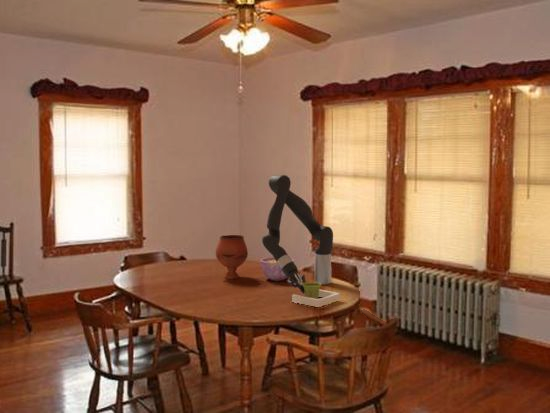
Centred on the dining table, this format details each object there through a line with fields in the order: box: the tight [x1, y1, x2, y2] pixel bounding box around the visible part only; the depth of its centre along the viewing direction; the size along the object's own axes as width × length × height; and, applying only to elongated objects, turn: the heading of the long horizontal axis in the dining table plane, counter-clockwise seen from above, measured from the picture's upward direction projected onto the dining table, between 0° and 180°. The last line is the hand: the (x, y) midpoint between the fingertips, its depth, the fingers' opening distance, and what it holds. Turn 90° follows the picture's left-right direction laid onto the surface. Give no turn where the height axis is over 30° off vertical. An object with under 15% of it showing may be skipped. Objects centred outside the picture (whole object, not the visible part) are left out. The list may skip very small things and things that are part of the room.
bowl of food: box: [260, 256, 295, 282], centre depth 335 cm, size 20×20×12 cm
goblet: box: [215, 234, 249, 280], centre depth 339 cm, size 19×19×25 cm
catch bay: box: [291, 288, 340, 308], centre depth 285 cm, size 18×16×4 cm
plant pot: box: [303, 281, 322, 299], centre depth 286 cm, size 9×9×9 cm
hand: (305, 292), depth 289 cm, fingers closed
